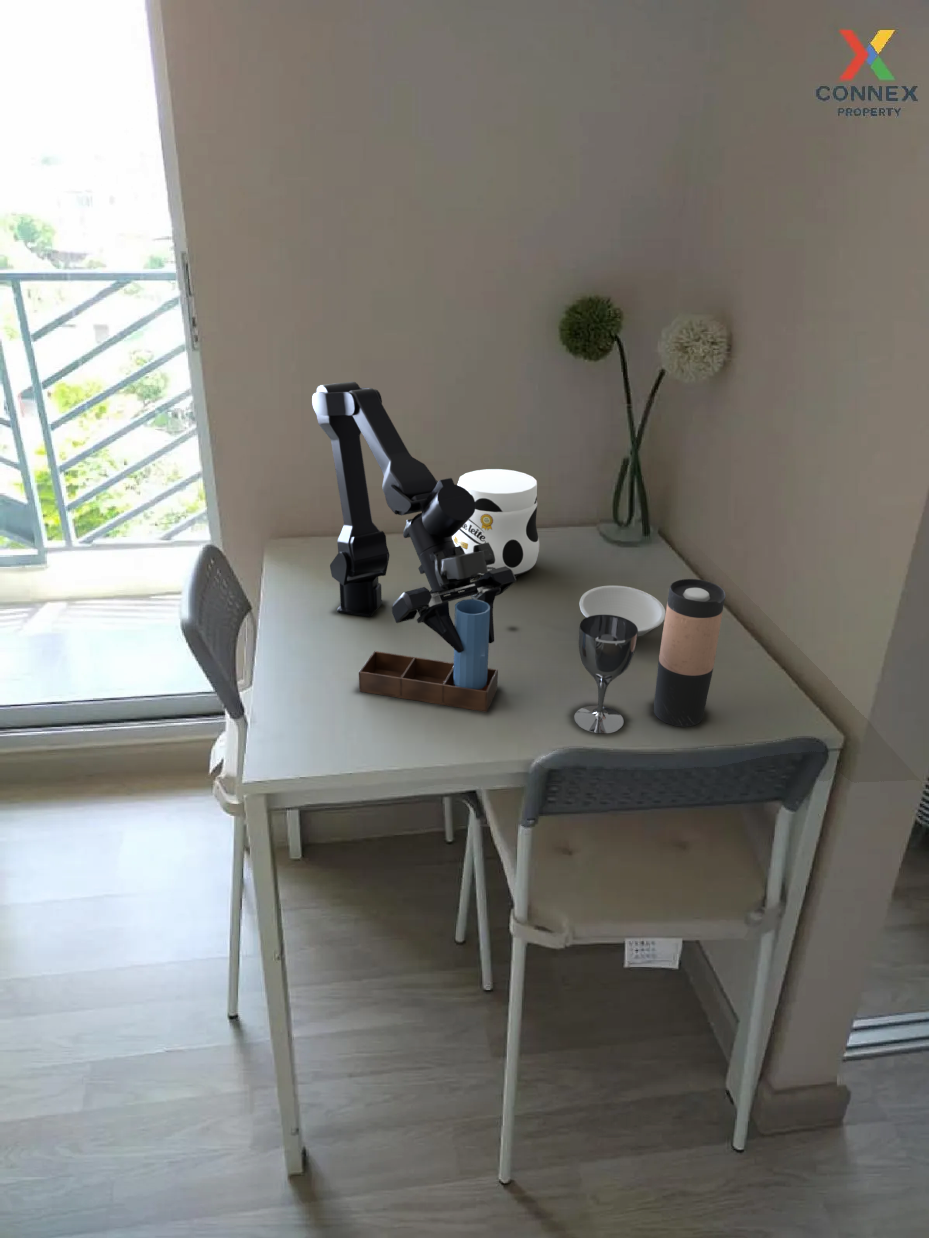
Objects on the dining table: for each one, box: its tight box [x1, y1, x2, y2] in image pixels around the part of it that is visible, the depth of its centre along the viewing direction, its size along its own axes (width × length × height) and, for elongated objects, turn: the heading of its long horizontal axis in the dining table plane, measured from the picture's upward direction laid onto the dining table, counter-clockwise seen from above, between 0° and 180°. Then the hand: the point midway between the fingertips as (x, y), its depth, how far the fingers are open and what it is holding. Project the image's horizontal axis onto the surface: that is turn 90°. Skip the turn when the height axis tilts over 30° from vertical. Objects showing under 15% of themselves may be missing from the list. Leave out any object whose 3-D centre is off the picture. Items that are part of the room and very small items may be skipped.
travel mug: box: [653, 578, 726, 727], centre depth 124 cm, size 8×8×20 cm
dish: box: [578, 585, 666, 638], centre depth 149 cm, size 18×14×5 cm
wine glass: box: [573, 615, 639, 734], centre depth 123 cm, size 8×8×15 cm
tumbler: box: [453, 598, 490, 690], centre depth 127 cm, size 5×5×12 cm
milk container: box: [452, 468, 540, 578], centre depth 171 cm, size 17×17×18 cm
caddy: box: [358, 650, 499, 713], centre depth 132 cm, size 20×7×3 cm, turn 75°
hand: (476, 647), depth 126 cm, fingers closed on tumbler, 5 cm apart
